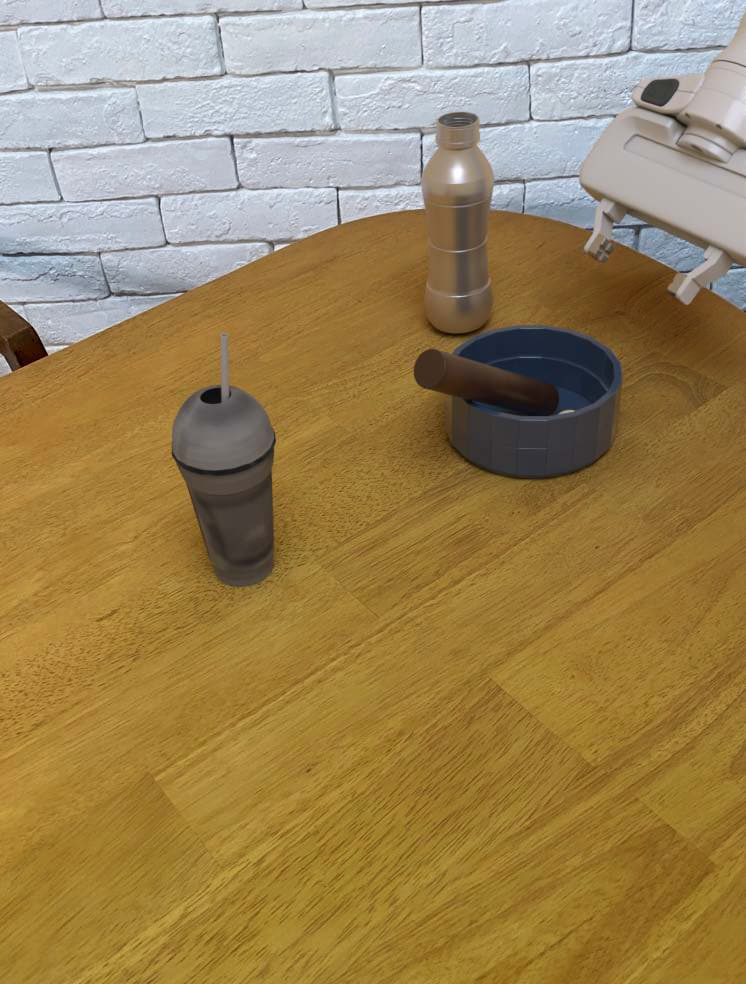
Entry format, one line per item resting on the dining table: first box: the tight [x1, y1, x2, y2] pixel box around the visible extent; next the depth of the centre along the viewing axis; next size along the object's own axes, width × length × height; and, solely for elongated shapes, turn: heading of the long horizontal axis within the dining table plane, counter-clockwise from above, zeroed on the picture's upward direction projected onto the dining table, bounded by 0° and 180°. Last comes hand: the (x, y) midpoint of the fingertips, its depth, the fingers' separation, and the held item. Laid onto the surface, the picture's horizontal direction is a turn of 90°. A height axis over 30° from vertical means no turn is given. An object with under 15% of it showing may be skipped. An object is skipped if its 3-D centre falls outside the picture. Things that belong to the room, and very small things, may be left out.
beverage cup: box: [171, 332, 277, 587], centre depth 79 cm, size 7×7×20 cm
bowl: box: [444, 324, 624, 480], centre depth 94 cm, size 14×14×6 cm
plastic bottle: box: [420, 111, 495, 334], centre depth 103 cm, size 6×7×20 cm
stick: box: [413, 348, 559, 416], centre depth 90 cm, size 3×3×16 cm
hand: (633, 277), depth 93 cm, fingers open, 8 cm apart
